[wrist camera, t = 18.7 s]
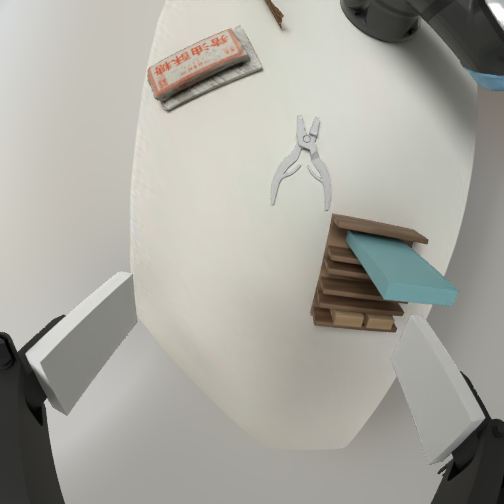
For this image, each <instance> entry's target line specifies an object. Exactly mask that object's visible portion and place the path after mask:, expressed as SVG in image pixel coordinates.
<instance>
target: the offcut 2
mask: <svg viewBox="0 0 504 504" xmlns="http://www.w3.org/2000/svg"><path fill="white" fill-rule="evenodd" d="M362 313H363V312H362ZM363 316H364V320H363V322H364V324H365V326H366V328H375V329H388V330H391V327H392V325H393V323H394V319H393V317H392V315H384V314H373V313H363Z"/></svg>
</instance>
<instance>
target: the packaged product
mask: <svg viewBox="0 0 504 504" xmlns="http://www.w3.org/2000/svg"><path fill="white" fill-rule="evenodd" d="M260 69H262V65H261V63H260V61H259V59H258V57H257V55H256V53H255V51H254V49H253V47H252V45H251V43H250V41H249V39H248V37H247V35H246V34H245V32H244V31H243V29H242V27H241V26H240V25H239V26H237V27H234V28H231V29H228V30H225V31H222V32H220V33H218V34H215V35H213V36H210V37H208V38H206V39H204V40H201V41H199V42H197V43H195V44H193V45H191V46H189V47H187V48H185V49H183V50H181V51H179V52H177V53H175V54H173V55H171V56H169V57H167V58H165V59H164V60H162V61H160V62H158V63H156V64H155V65H153V66H151V67H150V68H149V69H148V75H147V76H148V82H149V84H150V86H151V88H152V91H153V93H154V98H155V99H157V100H160V102H161V104H162V107H163V109H164V110H166V111H168V110H170V109H172V108H174V107H176V106H178V105H180V104H181V103H183V102H186V101H188V100H190V99H192V98H195V97H197V96H199V95H201V94H204V93H206V92H208V91H210V90H213V89H215V88H217V87H220V86H222V85H225V84H227V83H229V82H232V81H234V80H236V79H239V78H241V77H243V76H246V75H248V74H251V73H253V72H256V71H258V70H260Z"/></svg>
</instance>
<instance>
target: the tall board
mask: <svg viewBox="0 0 504 504" xmlns="http://www.w3.org/2000/svg"><path fill="white" fill-rule="evenodd" d="M346 242H347V243H348V245H349V246H350V248H351V249H352V251H353V252H354V254H355V255H356V257H357V258H358V260H359V261H360V263H361V264H362V266H363V267H364V269H365V270H366V272H367V273H368V275H369V276H370V278H371V280H372V281H373V283H374V284H375V286H376V287H377V289H378V291H379V292H380V294H381V295H382V297H383V299H385V300H394V301H404V302H413V303H424V304H435V305H446V306H453V304H454V302H455V300H456V297H457V295H458V292H459V290H457V289H456V288H455V287H454V286H453V285H452V284H451V283H450V282H449V281H448V280H447V279H446V278H445V277H444V276H442V275H441V274H440V273H439V272H438V271H437V270H436V269H435V268H434V267H432V266H431V265H430V264H429V263H428V262H427V261H426V260H424V259H423V258H422V257H421V256H420V255H419V254H417V253H416V252H415V251H414V250H413V249H411V248H410V247H409V246H408V245H407V244H405V243H404V242H403V241H402V240H400V239H398V238H393V237H387V236H382V235H377V234H371V233H366V232H360V231H355V230H349V229H348V232H347V237H346Z"/></svg>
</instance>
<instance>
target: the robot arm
mask: <svg viewBox="0 0 504 504" xmlns="http://www.w3.org/2000/svg"><path fill="white" fill-rule="evenodd" d="M340 4H341V7H342V10H343V12H344V13H345V15H346V16H347V18H348V19H349V20H350V21H351V22H352V23H353V24H354V25H355V26H356V27H357V28H359V29H360V30H361V31H363V32H364V33H366V34H368V35H370V36H372V37H374V38H376V39H379V40H382V41H386V42H394V43H397V42H403V41H406V40H408V39H410V38H411V37H412V36H413V35H415V34H416V33H417V31H418V29H419V27H420V23H421V19H422V18H423V19H424V20H425V21H426V22H427V23H428V24H429V25H430V26H431V28H432V29H433V30H434V31H435V32H436V33H437V34H438V35H439V36H440V37H441V38H442V40H443V41H444V42H445V43H446V44H447V45H448V47H449V48H450V49H451V50H452V51H453V53H454V54H455V55H456V56H457V58H458V59H459V60H460V63H461V65H462V66H463V67H464V68H465V69H466V70H467V71H468V72H469V73H470V75H471V76H472V77H473V79H474V80H475V81H476V82H477V83H478V84H479V85H480V86H482V87H483V88H485V89H488V90H492V91H504V0H340ZM136 323H137V315H136V306H135V296H134V284H133V274H131V273H126V272H121V271H119V272H118V273H116V274H115V275H114V276H113V277H111V278H110V279H109V280H108V281H106V282H105V283H104V284H103V285H102V286H100V287H99V288H98V289H97V290H96V291H94V292H93V293H92V294H91V295H90V296H88V297H87V298H86V299H85V300H84V301H83V302H81V303H80V304H79V305H78V306H77V307H76V308H74V309H73V310H72V311H71V312H70V313H69V314H68V315H62V316H60V317H57V318H55V319H53V320H52V321H51V322H50V323H49V324H48V325H46V326H45V328H43V329H42V330H41V331H40V332H39V333H38V334H36V335H35V336H34V337H33V338H32V339H31V340H30V341H29V342H28V343H27V344H26V345H24V347H22V348H21V349H20V351H18V352H17V350H16V348H15V346H14V343H13V341H12V339H11V337H10V336H9V335H8V334H7V333H5V332H0V504H65V502H64V499H63V496H62V493H61V489H60V485H59V482H58V478H57V474H56V470H55V465H54V460H53V456H52V450H51V445H50V439H49V432H48V424H47V416H46V408H45V404H44V403H43V402H44V401H45V400H46V398H48V400H49V402H50V403H51V405H52V407H53V408H55V409H57V410H58V411H60V412H62V413H63V414H65V415H68V414H69V413H70V411H71V410H72V408H73V407H74V405H75V404H76V403H77V401H78V400H79V398H80V397H81V396H82V394H83V393H84V392H85V390H86V389H87V387H88V386H89V385H90V383H91V382H92V381H93V379H94V378H95V377H96V375H97V374H98V372H99V371H100V370H101V369H102V367H103V366H104V365H105V363H106V362H107V360H108V359H109V358H110V356H111V355H112V354H113V353H114V351H115V350H116V349H117V348H118V346H119V345H120V343H121V342H122V341H123V340H124V339H125V337H126V336H127V335H128V333H129V332H130V331H131V330H132V328H133V327H134V326H135V325H136ZM390 360H391V362H392V365H393V367H394V370H395V372H396V375H397V377H398V380H399V382H400V385H401V387H402V390H403V392H404V395H405V398H406V400H407V403H408V406H409V408H410V411H411V414H412V417H413V420H414V423H415V425H416V429H417V432H418V434H419V438H420V440H421V444H422V447H423V450H424V454H425V457H426V460H427V464H428V465H431V464H435V463H439V462H442V461H443V460H444V459H446V458H447V457H448V456H449V455H450V454H451V453H452V455H453V459H452V460H451V461H449V463H447V464H446V465H445V466H444V467H442V468H441V469H440V470H439V472H438V474H440V473H441V472H443V471H444V470H445V469H446V471H445V473H444V474H443V475H442V476H443V478H442V481H441V483H440V485H439V487H438V490H437V492H436V494H435V496H434V498H433V501H432V502H431V504H504V422H503V421H502V420H499V419H491V417H490V416H489V414H488V412H487V410H486V408H485V406H484V404H483V403H482V401H481V399H480V397H479V395H478V396H477V392H476V390H475V389H473V385H472V383H471V382H470V380H469V379H468V377H467V376H465V375H464V374H463V373H462V372H461V371H459V370H458V368H457V366H456V365H455V363H454V362H453V360H452V358H451V357H450V355H449V354H448V352H447V351H446V349H445V347H444V346H443V344H442V343H441V342H440V340H439V339H438V337H437V336H436V334H435V333H434V331H433V330H432V328H431V327H430V325H429V324H428V323H427V321H426V320H425V318H424V317H423V316H418V315H410V317H409V320H408V322H407V324H406V327H405V329H404V331H403V333H402V336H401V338H400V340H399V342H398V344H397V346H396V348H395V350H394V352H393V354H392V356H391V358H390Z"/></svg>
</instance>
